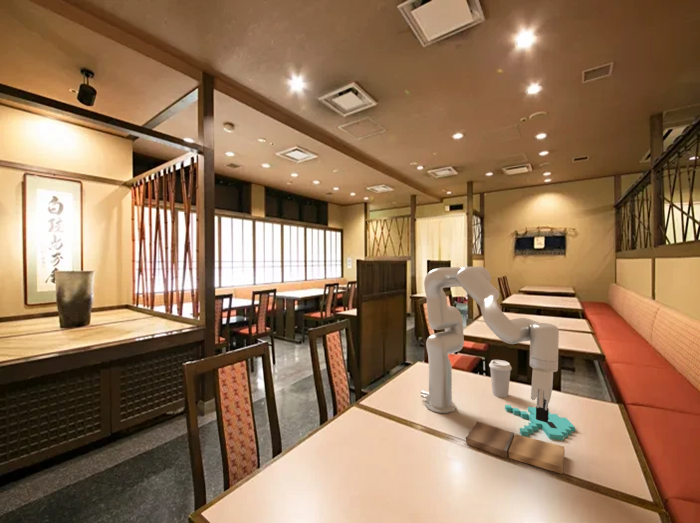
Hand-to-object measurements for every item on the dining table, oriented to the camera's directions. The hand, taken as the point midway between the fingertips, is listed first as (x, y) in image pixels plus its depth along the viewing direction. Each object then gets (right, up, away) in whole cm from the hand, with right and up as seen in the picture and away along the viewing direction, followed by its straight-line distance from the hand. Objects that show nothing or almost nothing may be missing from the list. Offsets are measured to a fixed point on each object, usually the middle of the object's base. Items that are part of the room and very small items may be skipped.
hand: (542, 420), depth 95 cm
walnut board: (-12, -12, +9) cm, 20 cm away
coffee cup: (+9, -12, +45) cm, 48 cm away
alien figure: (+12, -13, +20) cm, 27 cm away
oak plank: (-1, -12, +1) cm, 12 cm away
